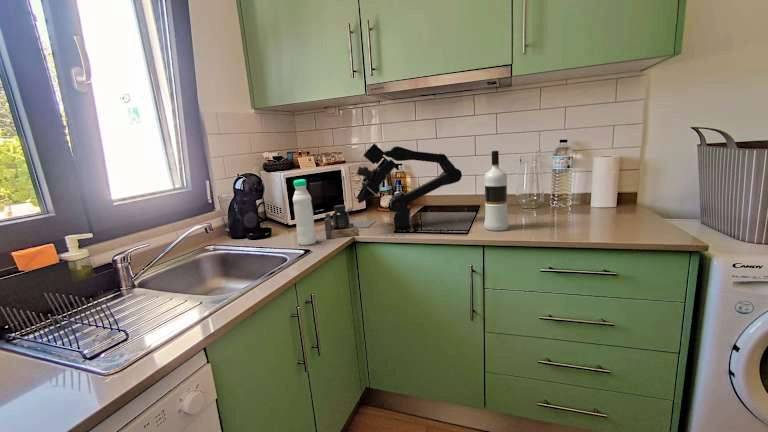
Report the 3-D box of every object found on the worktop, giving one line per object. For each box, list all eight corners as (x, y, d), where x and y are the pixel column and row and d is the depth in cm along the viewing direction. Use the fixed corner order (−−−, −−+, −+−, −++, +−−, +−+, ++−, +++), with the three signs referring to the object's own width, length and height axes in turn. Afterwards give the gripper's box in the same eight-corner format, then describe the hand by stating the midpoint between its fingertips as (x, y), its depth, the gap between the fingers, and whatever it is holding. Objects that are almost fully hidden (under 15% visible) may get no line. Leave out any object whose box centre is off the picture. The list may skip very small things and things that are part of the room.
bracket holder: (356, 228, 164) (354, 210, 162) (357, 236, 151) (355, 216, 150) (327, 231, 163) (325, 213, 161) (326, 239, 150) (324, 219, 149)
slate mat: (375, 221, 174) (375, 220, 174) (367, 228, 163) (367, 227, 163) (351, 221, 178) (351, 221, 178) (342, 228, 167) (342, 227, 167)
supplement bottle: (353, 231, 159) (350, 204, 156) (345, 236, 153) (342, 207, 150) (339, 231, 162) (336, 204, 159) (331, 235, 156) (328, 207, 153)
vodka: (481, 231, 144) (479, 152, 138) (487, 225, 152) (485, 150, 145) (506, 232, 139) (505, 150, 133) (511, 226, 147) (510, 149, 141)
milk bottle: (308, 246, 142) (299, 181, 137) (294, 244, 146) (286, 181, 140) (320, 241, 148) (312, 178, 143) (307, 240, 151) (299, 178, 146)
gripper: (365, 157, 161) (342, 185, 162) (368, 160, 143) (342, 191, 144) (385, 174, 164) (362, 201, 165) (390, 178, 145) (365, 209, 147)
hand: (357, 200), depth 155 cm, fingers open, 9 cm apart
